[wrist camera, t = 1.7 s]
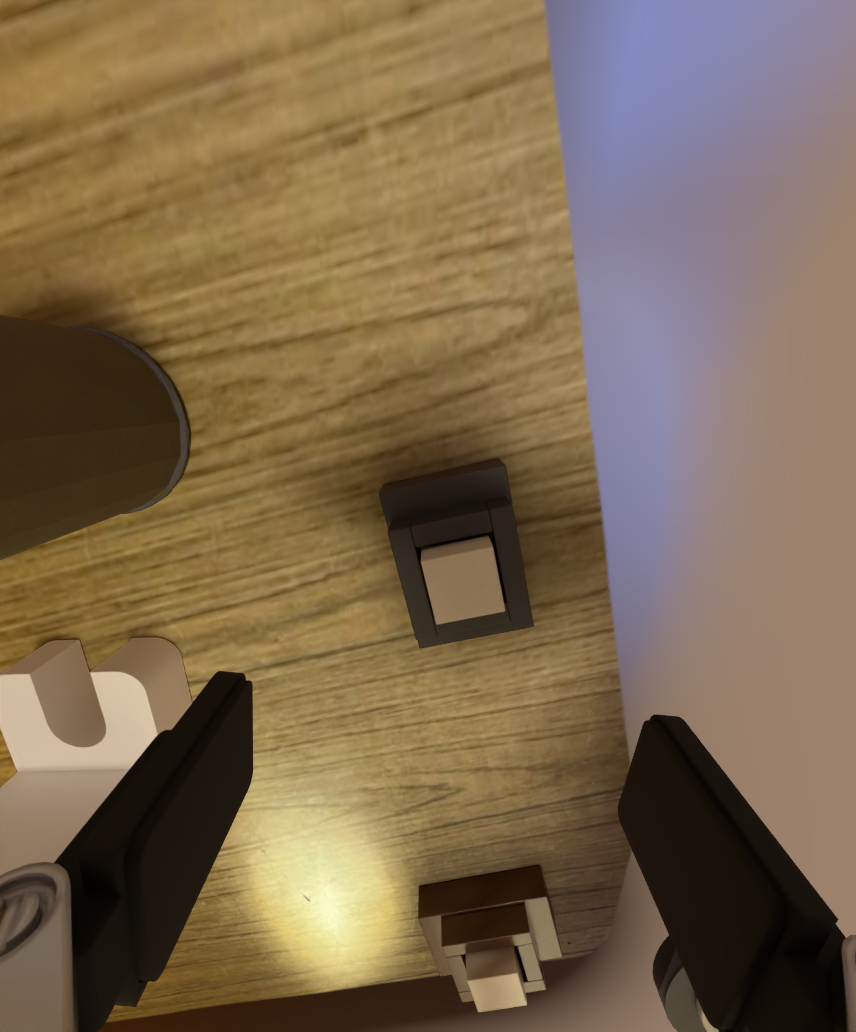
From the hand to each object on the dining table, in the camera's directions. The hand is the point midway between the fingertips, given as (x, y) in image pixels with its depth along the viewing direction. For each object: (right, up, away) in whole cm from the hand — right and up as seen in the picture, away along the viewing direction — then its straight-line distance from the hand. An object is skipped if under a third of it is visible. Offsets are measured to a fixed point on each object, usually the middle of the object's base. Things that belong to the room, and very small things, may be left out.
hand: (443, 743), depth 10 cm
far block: (+5, -27, +25) cm, 37 cm away
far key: (+5, -28, +21) cm, 35 cm away
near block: (+1, +3, +16) cm, 16 cm away
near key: (+1, +2, +13) cm, 13 cm away
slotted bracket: (-22, -11, +21) cm, 32 cm away
